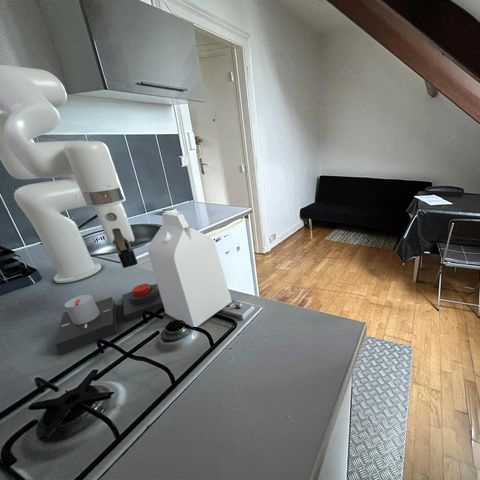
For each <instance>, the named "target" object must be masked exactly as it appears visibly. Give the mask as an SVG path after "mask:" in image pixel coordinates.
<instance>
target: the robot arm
mask: <svg viewBox="0 0 480 480" xmlns="http://www.w3.org/2000/svg"><path fill="white" fill-rule="evenodd" d="M67 100H68V95H67V90H66V89H65V86H64V84H63V83H62V81H61V80H60V79H59V78H58V77H56V75H54V74H53V73H52V72H50V71H47V70H45V69H41V68H33V67H23V66H16V65H8V64H0V161H1V163H2V166H3V167H4V169H5V170H6V171H7V173H8V174H9V175H10V176H11V177H13V178H14V179H17V180H36V179H53V178H54V179H55V178H62V179H59V180H51V181H49V180H48V181H42V182H36V183H30V184H26V185H22V186H20V187H18V188H16V189H15V190H14V193H13V198H14V201H15V202H16V204H17V206H18V207H19V208H20V210H21V211H22V212H23V213H24V214H25V216H26V217H27V218H28V220H29V221H30V224H31V225H32V227H33V229H34V230H35V232H36V234H37V236H38V238H39V240H40V242H41V243H42V245H43V247H44V250H45V251H46V253H47V255H48V257H49V259H50V261H51V263H52V265H53V267H54V269H55V271H56V272H57V273H56V274H55V275H54V276H53V281H54V282H55V283H56V284H67V283H68V284H69V283H73V282H78V281H80V280H84V279H86V278H88V277H91V276H93V275H95V274H96V273H98V272H99V271H100V270H101V269H102V265H101V263H98V262H94V261H93V259H92V257H91V254H90V252H89V249H88V248H87V245H86V243H85V240H84V239H83V236H82V234H81V232H80V230H79V227H78V225H77V223H76V222H75V221H74V220H73V219H71V218H70V217H67V216H65V215H63V214H61V213H62V212H66V211H69V210H73V209H74V210H75V209H78V208H79V209H80V208H82V207H88V208H94V210H95V213H96V216H97V218H98V220H99V223H100V225H101V227H102V230H103V232H104V234H105V236H106V239H107V241H108V242H109V244H110V246H111V247H115V249H116V252H117V256H118V258H119V261H120V263H121V266H122V268H124V269H126V268H129V267H134V266H136V265H138V260H137V257H136V254H135V252H134V249H133V248H132V247H131V244H130V242H131V243H134V242H135V235H134V231H133V230H132V226H131V223H130V221H129V218H128V215H127V213H126V210H125V207H124V205H123V202H126V200H127V198H126V197H125V194H124V191H123V187H122V184H121V181H120V180H119V176H118V173H117V170H116V167H115V165H114V161H113V158H112V156H111V153H110V150H109V148H108V146H107V145H106V143H104V142H103V141H98V140H84V139H83V140H82V139H81V140H59V141H58V140H56V141H40V142H38V141H37V142H35V140H34V139H36V138H38V137H41V136H43V135H45V134H47V133H49V132H52V131H53V130H54V129H56V128H57V127H58V126H59V123H60V121H61V115H60V113H59V111H58V110H57V109H59V108H61V107H63V106H65V104H66V103H67Z"/></svg>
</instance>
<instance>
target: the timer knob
mask: <svg viewBox="0 0 480 480" xmlns="http://www.w3.org/2000/svg"><path fill="white" fill-rule="evenodd" d="M95 302H96V301H95V299H94V297H93V295H92V294H82V295H78V296H76V297H73V298H71V299H68V301H66V302H65V303H64V308H65V311H66V312H68V314H69V316H70V318H71V319H72V321H73V323H74V324H76V325H79V324H84V323H87V322H90V321H92V320H93V319H95V318H96V317H98V316H99V314H100V312H99V310H98V308H97V306H96V304H95Z"/></svg>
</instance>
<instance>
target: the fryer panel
mask: <svg viewBox="0 0 480 480" xmlns="http://www.w3.org/2000/svg"><path fill="white" fill-rule="evenodd" d="M95 304H96V306H97V308H98V310H99V312H100V314H99V316H98V317H96V318H95V319H93V320H92V321H90V322H87V323H84V324H79V325H76V324H74V323H73V321H72V319H71V318H70V316H69V314H68V312H67V311H65V312H63V314H62V316H61V320H60V325H59V328H58V332H57V336H56V340H55V343H54V346H55V347H56V349H57V351H58V353H59V354H60V355H61V356H63V355H65V354H68V353H70V352H73V351H76V350H78V349H81V348H83V347H86V346H88V345H91V344H94V343H96V342H98V341H97V340H99V341H101V340H104V339H106V338H109V337H111V336H115V335H117V334H118V323H117V321H118V319H117V305H116V303H115V300H114V298H113V296H111V297H107V298H105V299H102V300H98V301H95Z"/></svg>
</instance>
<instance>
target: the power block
mask: <svg viewBox="0 0 480 480" xmlns="http://www.w3.org/2000/svg"><path fill="white" fill-rule="evenodd" d="M149 285H150V288H151V292H150V293H148V294H146V295H143V296H139V297H135V296H134V293H133V290H131V291H130V292H126V293H123V294H122V297H121V298H122V307H123V316H124V319H125V321H126V322H127V321H130V320H133V319H135V318H138V317H141V316H144V315H143V312H144V311H148V312H149V313H152V312H154V311H157V310H159V309H162V308H164V305H163V302H162V299H161V295H160V292H159V288H158V285H157V283H154V284H149Z"/></svg>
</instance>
